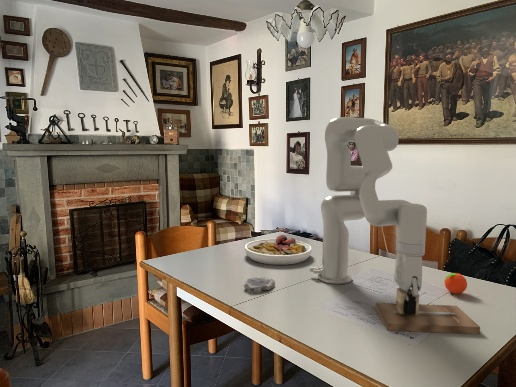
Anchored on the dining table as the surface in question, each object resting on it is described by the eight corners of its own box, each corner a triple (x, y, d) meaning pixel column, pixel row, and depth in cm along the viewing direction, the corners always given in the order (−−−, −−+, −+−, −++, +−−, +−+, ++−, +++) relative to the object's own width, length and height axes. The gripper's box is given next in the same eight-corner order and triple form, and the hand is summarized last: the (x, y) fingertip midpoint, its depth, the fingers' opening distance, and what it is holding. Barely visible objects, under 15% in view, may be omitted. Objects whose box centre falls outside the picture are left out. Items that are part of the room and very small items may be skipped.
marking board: (387, 330, 104) (387, 321, 103) (375, 309, 117) (375, 301, 117) (479, 334, 102) (480, 325, 102) (456, 312, 116) (456, 304, 115)
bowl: (309, 269, 157) (310, 250, 156) (238, 264, 162) (238, 246, 161) (312, 250, 186) (312, 234, 185) (251, 247, 191) (251, 231, 190)
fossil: (257, 288, 127) (238, 275, 134) (255, 299, 128) (235, 285, 134) (280, 283, 135) (260, 271, 142) (277, 293, 136) (258, 281, 143)
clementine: (451, 298, 127) (453, 277, 126) (436, 290, 133) (438, 270, 133) (471, 295, 129) (472, 275, 128) (455, 288, 136) (457, 269, 135)
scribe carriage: (399, 313, 108) (400, 293, 107) (395, 308, 112) (396, 288, 111) (420, 314, 107) (421, 294, 107) (415, 308, 111) (416, 288, 111)
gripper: (388, 240, 116) (385, 298, 118) (405, 255, 100) (402, 322, 102) (414, 241, 116) (410, 299, 118) (435, 256, 99) (431, 324, 101)
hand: (406, 309), depth 110 cm, fingers closed on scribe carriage, 4 cm apart
